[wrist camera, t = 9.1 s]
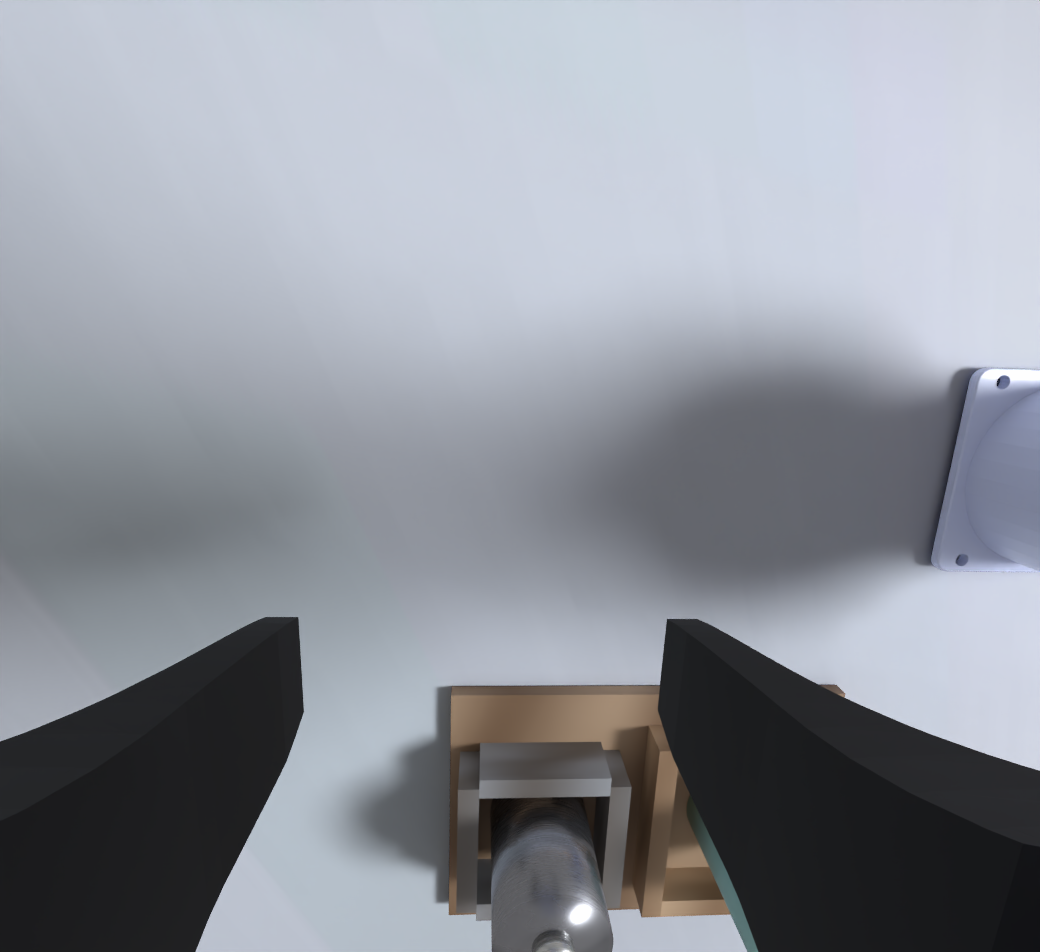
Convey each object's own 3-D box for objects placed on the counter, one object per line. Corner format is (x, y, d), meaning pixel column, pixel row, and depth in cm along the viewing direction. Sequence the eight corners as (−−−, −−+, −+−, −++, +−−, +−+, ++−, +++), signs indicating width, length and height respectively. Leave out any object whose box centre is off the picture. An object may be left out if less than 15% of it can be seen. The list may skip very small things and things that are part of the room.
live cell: (759, 750, 23) (858, 890, 17) (787, 818, 24) (888, 972, 18) (673, 789, 23) (741, 941, 17) (704, 854, 24) (779, 1019, 18)
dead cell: (586, 768, 23) (622, 914, 17) (581, 846, 24) (612, 1011, 18) (491, 770, 23) (493, 919, 17) (489, 849, 24) (490, 1017, 18)
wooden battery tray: (836, 684, 23) (878, 725, 21) (797, 891, 26) (831, 949, 23) (451, 686, 22) (447, 729, 20) (449, 901, 25) (445, 964, 22)
